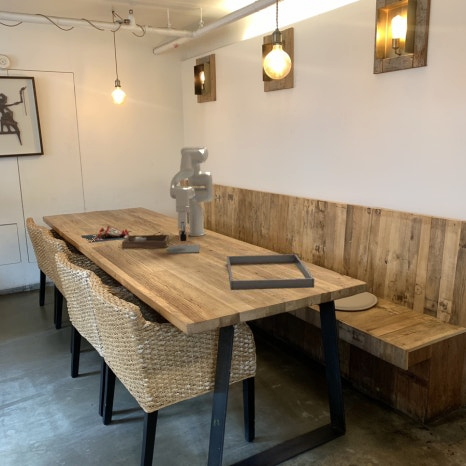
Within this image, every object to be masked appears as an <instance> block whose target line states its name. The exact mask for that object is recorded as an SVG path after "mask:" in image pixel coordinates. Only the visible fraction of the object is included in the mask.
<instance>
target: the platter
mask: <svg viewBox="0 0 466 466" xmlns="http://www.w3.org/2000/svg"><path fill="white" fill-rule="evenodd" d="M106 227H107V228H106V230H105V228H104V227H101V228H100V229H99V233H97V234H95V235H96V236H93V235H94V234H86V235H85V234H84V235H81V238H82V239H84V240H85V239H86V241H88V242H87V244H88V243H93V244H94V243H102V242H110V241H111V242H112V241H121V240H123V241H124V239H125V238H126V237H127V236H130V235H129V233H132V231H131V230H130V231H128V230H127V229H122V231H120V230H119V229H117V228H114V227H111V226H110V225H108V226H106ZM132 236H137V234H133V235H132ZM92 238H93V239H94V240H95V241H94V240H93V239H92ZM87 239H88V240H87ZM92 240H93V241H92ZM91 241H92V242H91Z"/></svg>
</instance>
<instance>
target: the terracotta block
mask: <svg viewBox="0 0 466 466" xmlns="http://www.w3.org/2000/svg"><path fill="white" fill-rule="evenodd" d="M188 232H189V230H188V229H186V230H185V234H186V241H181V238H180V234H181V230H180V229H178V243H182V242H183V243H185V242H188V241H189V235H188Z"/></svg>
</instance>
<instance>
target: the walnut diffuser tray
mask: <svg viewBox="0 0 466 466" xmlns="http://www.w3.org/2000/svg"><path fill="white" fill-rule="evenodd" d="M136 235H137V234H136ZM152 235H153V236H154V237H153V236H152ZM157 235H159V236H157ZM149 236H151V237H150V238H147V237H149ZM135 237H142V238H146V239H149V240H146V241H138V242H134V238H135ZM165 238H166V239H165ZM156 240H161V241H156ZM169 241H170V235H169V234H163V235H161V234H155V235H154V234H148V235H147V234H145V235H144V234H143V235H142V234H141V235H140V234H139V235H137V236H133V235H129V236H127V237H126V238H125V239H123V241H122V242H121V244H122V245H121V246H122V247H121V248H122V250H125V249H126V250H127V249H129V250H131V249H159V248H161V249H162V248H164V249H165V248H167V247H168V244H169Z"/></svg>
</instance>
